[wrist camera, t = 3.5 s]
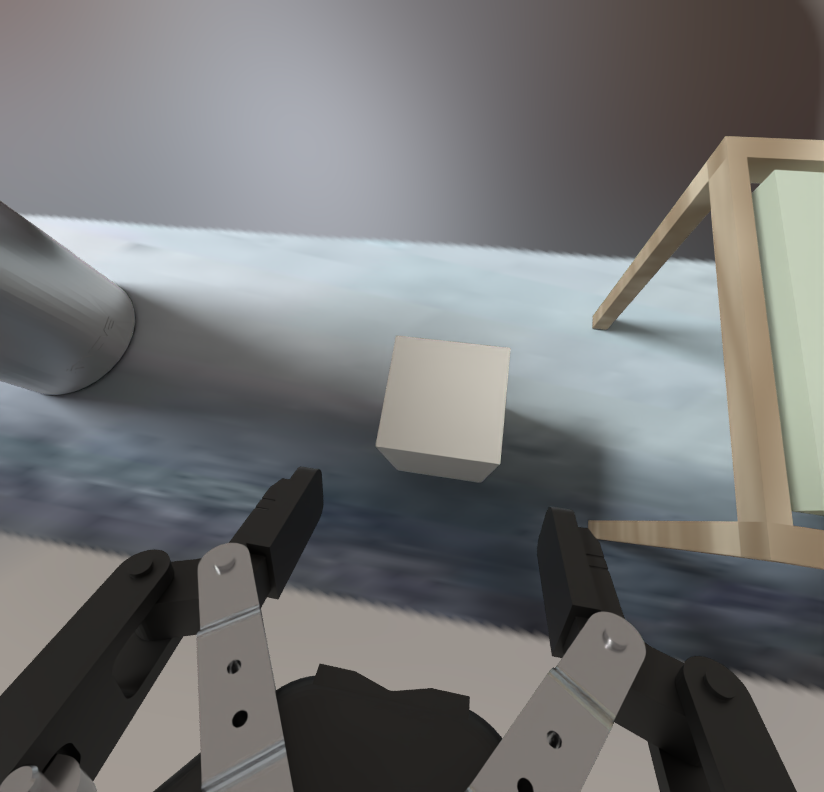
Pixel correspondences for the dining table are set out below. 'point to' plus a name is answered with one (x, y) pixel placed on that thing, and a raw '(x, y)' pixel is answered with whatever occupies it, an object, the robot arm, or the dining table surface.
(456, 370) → the white rectangular block
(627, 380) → the dining table surface
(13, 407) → the dining table surface
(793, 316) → the trapdoor
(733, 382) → the trapdoor frame
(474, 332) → the dining table surface
